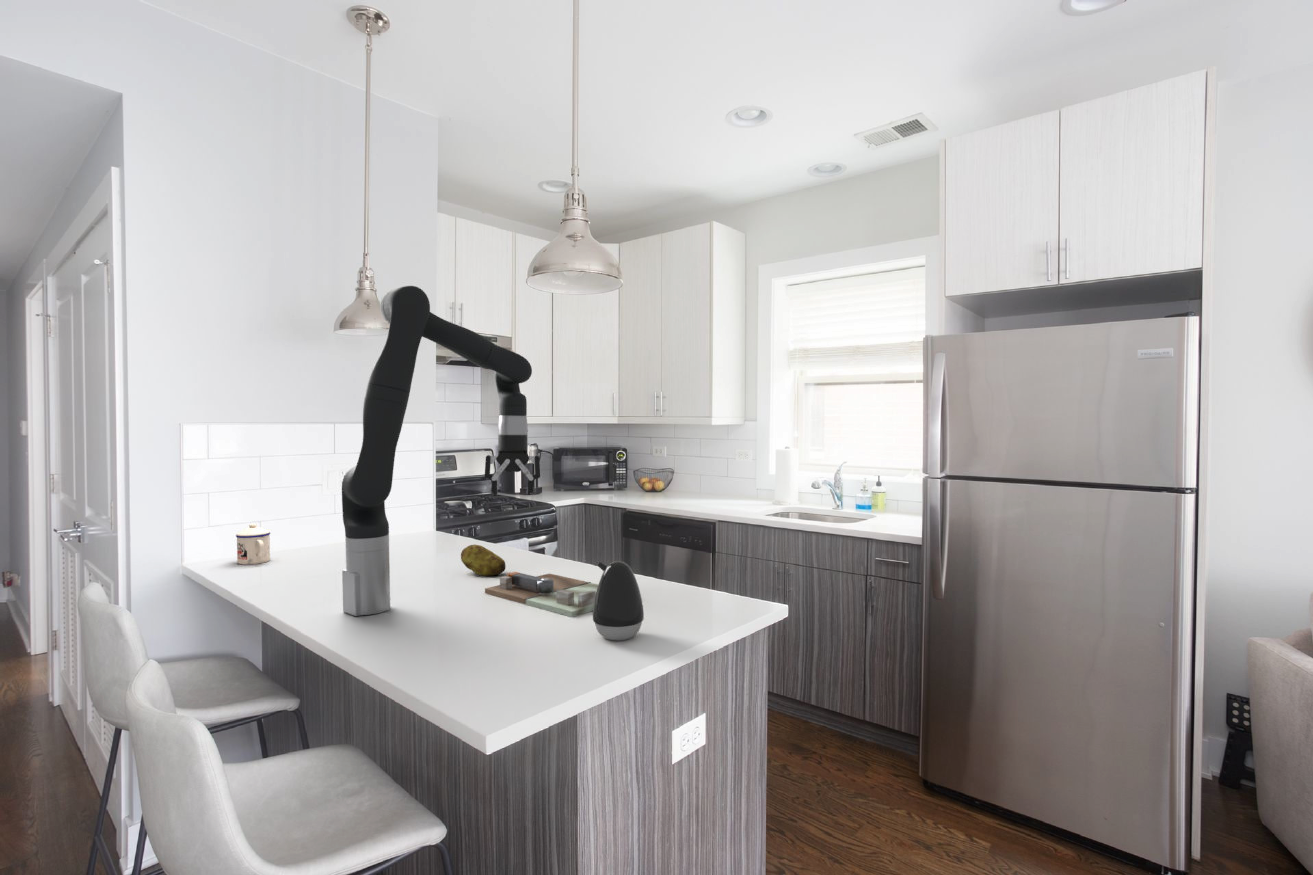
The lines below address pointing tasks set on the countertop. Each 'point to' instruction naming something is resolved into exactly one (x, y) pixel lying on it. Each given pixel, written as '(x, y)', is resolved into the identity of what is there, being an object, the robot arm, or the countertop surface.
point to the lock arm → (532, 582)
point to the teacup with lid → (253, 545)
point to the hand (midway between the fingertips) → (512, 494)
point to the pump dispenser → (617, 603)
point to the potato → (482, 561)
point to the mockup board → (551, 595)
